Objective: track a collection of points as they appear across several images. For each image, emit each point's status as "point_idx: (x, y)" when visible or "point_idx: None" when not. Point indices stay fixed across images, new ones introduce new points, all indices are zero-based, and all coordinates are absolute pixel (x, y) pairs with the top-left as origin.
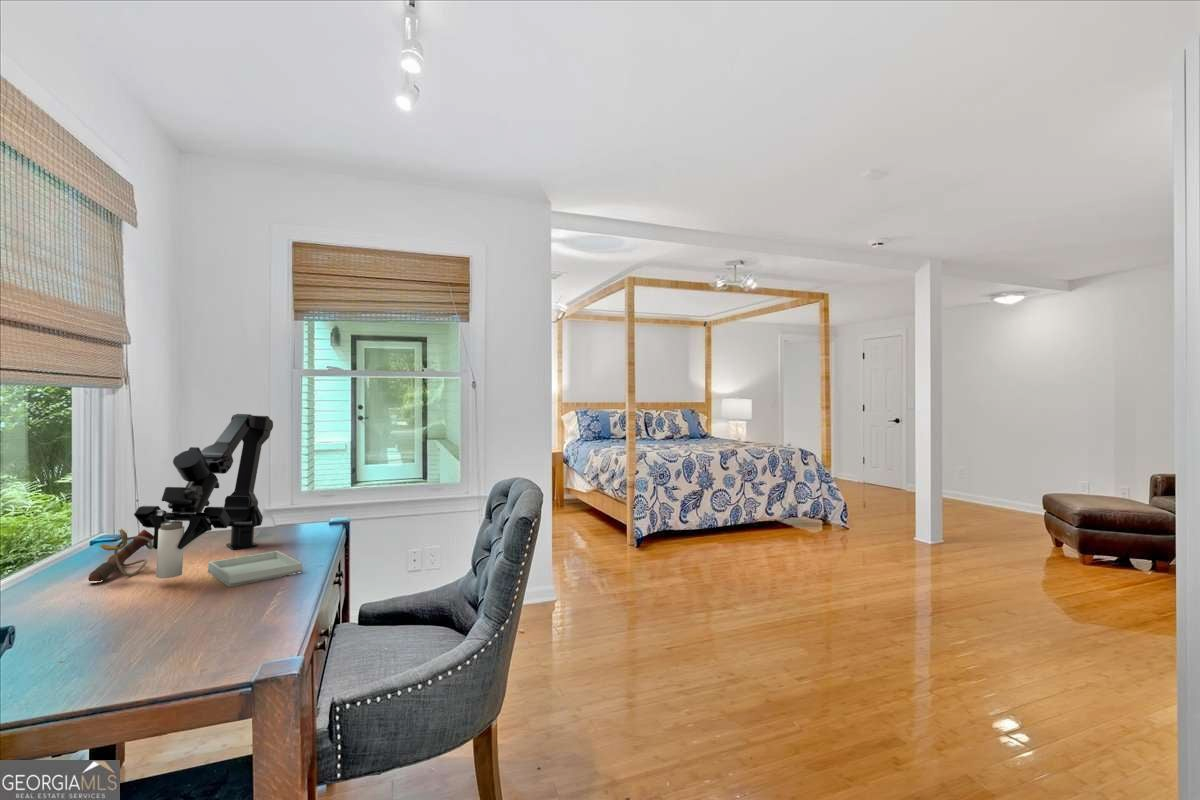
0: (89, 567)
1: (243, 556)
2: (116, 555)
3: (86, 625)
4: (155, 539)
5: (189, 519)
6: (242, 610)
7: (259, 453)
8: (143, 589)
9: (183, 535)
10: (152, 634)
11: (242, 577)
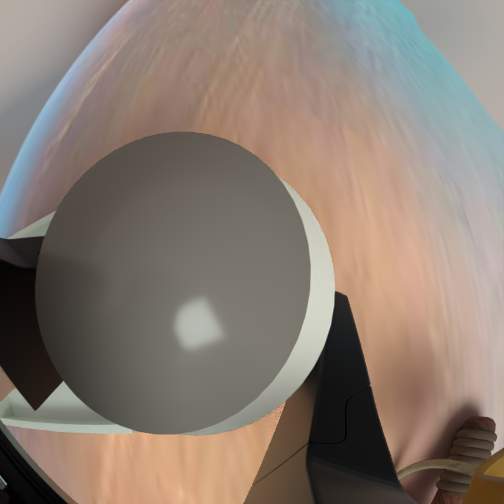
0: None
1: (50, 428)
2: (472, 467)
3: (387, 67)
4: (343, 325)
5: (3, 426)
6: (136, 62)
7: None
8: None
9: None
10: (267, 13)
11: None
